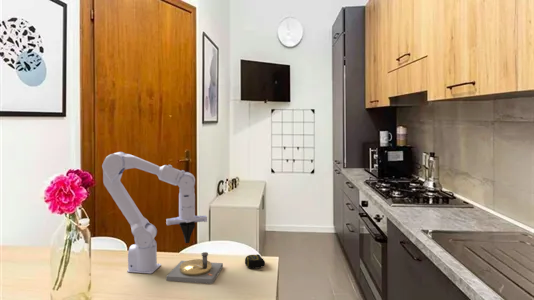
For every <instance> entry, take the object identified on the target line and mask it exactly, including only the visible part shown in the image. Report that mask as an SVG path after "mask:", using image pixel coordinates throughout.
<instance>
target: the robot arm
mask: <svg viewBox="0 0 534 300" xmlns="http://www.w3.org/2000/svg"><path fill="white" fill-rule="evenodd" d="M101 167H102V182H103V186H104V187H105V189H106V190H107V192H108V193H109V194H110V196H111V198H112V199H113V201H114V202H115V204H116V205H117V207H118V209H119V210H120V211H121V213H122V215H123V216H124V217H125V219H126V220H127V222H128V224H129V225H130V228H131V234H132V236H133V237H134V238H133V239H134V244H131V245H130V246H129V248H128V252H127V269H126V270H127V271H126V272H128V273H135V274H136V273H141V274H154V272H155V271H156V270H158V269H159V268H160V267H161V266H162V264H161V263H158V260H157V259H158V258H157V256H158V255H157V253H158V252H157V249H158V248H157V241H156V240H155V237H156V236H157V234H158V230H157V228H156V226H155V225H154V224H152V223H150V222H149V220H148V219H147V218H146V217H145V216H143V214H142V212H141V211H140V209H139V208H138V206H137V205H136V203H135V201H134V200H133V198H132V197H131V196H130V194H129V192H128V191H127V189H126V188H125V186H124V184H123V183H122V181H121V179H122V177H123V173H124V171H125V170H130V169H138V170H140V171H144V172H146V173H150V174H153V175H156V177H158V180H159V181H161V182H163V183H164V182H165V183H167V184H170V185H172V186H178V188H179V189H178V190H179V193H178V216H177V217H171V218H166V219H165V220H166V222H165V223H166V226H171V225H179V227H180V229H181V231H182V235H183V238H184V244H190V242H191V237H192V233H193V231H194V229H196V223H200V222H201V223H202V222H204V223H207V222H208V216H207V215H196V194H195V191H196V190H195V185H196V178H195V176H194V174H193V173H191V172H189V171H185V170H184V169H181V170H180V169H178V168H175V167H173V165H171V164H168V165H167V164H164V165H162V166H159V165H157V164H156V163H153V162H150V161H148V160H145V159H143V158H141V157H138V156H136V155H132V153H131V154H130V153H125V152H123V151H117V152H114V153H110V154H108V155H107V156H106V157H105V158H104V160H103V163H102V165H101Z"/></svg>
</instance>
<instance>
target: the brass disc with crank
mask: <svg viewBox="0 0 534 300" xmlns="http://www.w3.org/2000/svg"><path fill="white" fill-rule="evenodd" d="M208 256H209V253H208V252H207V251H205V252H202V253H201V258H200V259H197V258H196V259H189V260H184V261H185V262H183V263H182V264H181V265H180V272H181V273H182V274H184V275H188V276H199V275H203V274H206V273H208V272H210V271H211V269H212V264H211V263H212V261H210V260H208Z"/></svg>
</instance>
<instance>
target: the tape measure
mask: <svg viewBox="0 0 534 300" xmlns="http://www.w3.org/2000/svg"><path fill="white" fill-rule="evenodd" d="M244 264H245V266H246V268H249V269H260V268H264V267H265V265H266V261H265V259H264V258H263V257H262V256H261V255H260V254H248V255H247V256H246V257H245V258H244Z"/></svg>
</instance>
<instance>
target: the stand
mask: <svg viewBox="0 0 534 300" xmlns="http://www.w3.org/2000/svg"><path fill="white" fill-rule="evenodd" d="M185 261H186V260H180V261H179V263H178V264H177V265H175V266H174V268H173V269H171V271H170V272H169V273H168V274H167V275H166V277H165V280H166V281H170V282H183V283H196V284H197V283H198V284H208V285H210V284H211V285H213V284H214V282H215V280H216V278H218V275H219V274H220V272H221V271H222V269H223V267H224V264H223V263H222V262H211V264H212V269H211V271H210V272H208V273H206V274H203V275H199V276H188V275H184V274H182V273H181V272H180V265H181V264H182V263H183V262H185Z"/></svg>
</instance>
